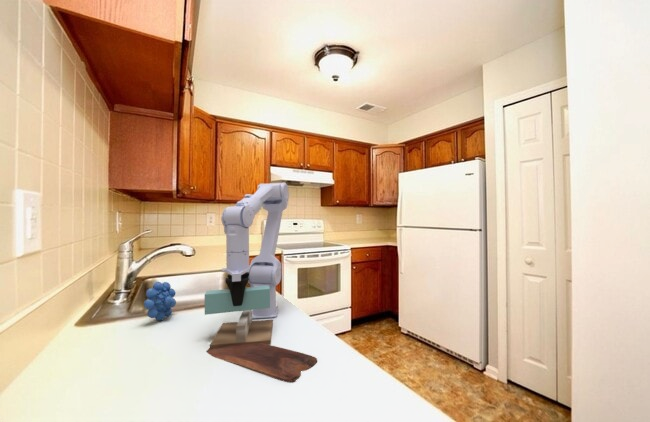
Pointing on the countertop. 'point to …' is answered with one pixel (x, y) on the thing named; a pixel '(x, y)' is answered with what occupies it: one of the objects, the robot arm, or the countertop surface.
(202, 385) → the countertop surface
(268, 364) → the wooden tablet
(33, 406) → the countertop surface
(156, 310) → the grapes
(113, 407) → the countertop surface
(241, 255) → the robot arm
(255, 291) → the teal rectangular bar
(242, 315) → the ridge
